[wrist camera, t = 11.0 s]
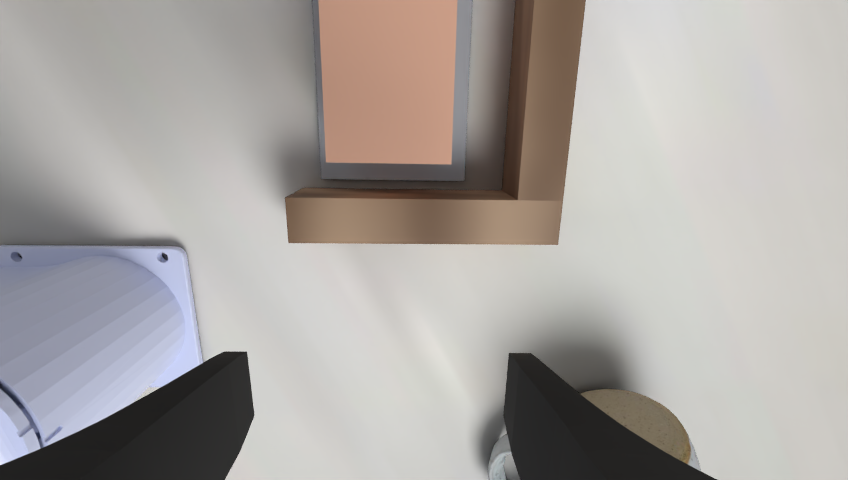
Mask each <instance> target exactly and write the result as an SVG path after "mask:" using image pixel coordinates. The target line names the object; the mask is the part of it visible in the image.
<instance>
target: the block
mask: <svg viewBox="0 0 848 480" xmlns="http://www.w3.org/2000/svg"><path fill="white" fill-rule="evenodd" d="M318 2H319V24H320V45H321V67H322V89H323V110H324V132H325V153H326V162H330V163H392V164H451V161H452V134H453V107H454V80H455V53H456V27H457V0H318Z"/></svg>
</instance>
